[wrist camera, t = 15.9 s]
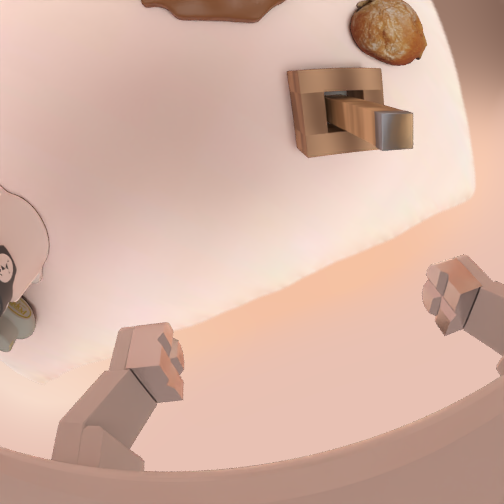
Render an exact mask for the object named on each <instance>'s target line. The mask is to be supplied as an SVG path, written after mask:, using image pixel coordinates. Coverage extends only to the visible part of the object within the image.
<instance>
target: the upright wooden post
mask: <svg viewBox="0 0 504 504" xmlns="http://www.w3.org/2000/svg"><path fill="white" fill-rule="evenodd" d="M324 98H325V107H326V117H327V122H329V123H331V124H333V125H335V126H337V127H339V128H341V129H344V130H346V131H348V132H349V133H351V134H353V135H355V136H357V137H359V138H361V139H363V140H365V141H367V142H369V143H371V144H372V145H374V146H376V148H378V149H380V150H382V151H389V150H401V149H413V113H411V112H408V111H403V110H399V109H396V108H392V107H389V106H385V105H382V104H378V103H374V102H370V101H366V100H362V99H358V98H354V97H350V96H345V95H341V94H340V95H325V96H324Z"/></svg>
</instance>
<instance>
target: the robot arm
mask: <svg viewBox="0 0 504 504" xmlns="http://www.w3.org/2000/svg"><path fill="white" fill-rule="evenodd" d="M48 251H49V241H48V235H47V232H46V229H45V226H44V224H43V222H42V220H41V218H40V216H39V215H38V213H37V212H36V211H35V210H34V208H33V207H32V206H31V205H30V204H29V203H28V202H26V201H25V200H24V199H22V198H20V197H18V196H16V195H13V194H11V193H8V192H6V191H5V190H4V189H3V188H2V187H1V186H0V317H1V315H2V314H3V313H4V312H5V310H6V309H7V307H8V304H9V303H10V302H16V301H18V300H19V299H20V297H21V296H22V295H23V293H24V292H25V291H26V289H27V288H28V287H29V285H30V284H31V283H38V282H39V281H40V280H41V279H42V267H43V264H44V262H45V261H46V259H47V256H48ZM426 276H427V277H428V280H427V282H426V283H425V285H424V286H423V291H422V299H423V303H424V306H425V308H426V309H427V311H428V312H429V313H431V314H433V315H435V316H436V317H435V322H436V324H437V325H438V327H439V328H440V330H441V331H442V332H443V334H444V336H445V335H448V334H451V333H454V332H456V331H458V330H461V329H464V331H466V332H468V333H469V334H471V335H472V336H474V337H475V338H477V339H478V340H480V341H481V342H483V343H484V344H486V345H487V346H489V347H490V348H492V349H493V350H495V351H496V352H498V353H499V354H500V355H502V356H503V357H502V358H501V360H500V361H499V363H498V364H497V367H496V369H497V371H498V373H499V374H500V377H499V378H497V379H496V380H494V381H492V382H491V383H489V384H487V385H486V386H484V387H483V388H481V389H479V390H477V391H475V392H474V393H472V394H470V395H469V396H466V397H465V398H463V399H461V400H459V401H457V402H455V403H453V404H451V405H449V406H447V407H445V408H443V409H441V410H439V411H437V412H435V413H432V414H430V415H428V416H426V417H424V418H421V419H419V420H417V421H414V422H412V423H410V424H407V425H405V426H403V427H400V428H397V429H394V430H392V431H389V432H386V433H384V434H381V435H378V436H375V437H372V438H370V439H366V440H363V441H360V442H357V443H354V444H350V445H347V446H344V447H340V448H336V449H333V450H329V451H325V452H321V453H317V454H313V455H309V456H304V457H300V458H295V459H290V460H285V461H279V462H273V463H268V464H261V465H254V466H247V467H238V468H229V469H219V470H204V471H182V472H181V471H179V472H157V471H144V460H143V459H142V458H141V457H140V456H138V455H137V454H135V453H134V452H133V451H131V450H130V448H131V446H132V444H133V443H134V441H135V440H136V438H137V436H138V434H139V433H140V431H141V430H142V428H143V426H144V425H145V423H146V422H147V420H148V419H149V417H150V415H151V413H152V412H153V410H154V409H155V407H156V405H157V403H160V402H170V401H178V400H183V384H184V382H183V380H182V379H181V377H180V374H181V373H182V371H183V370H184V357H183V351H182V348H181V345H180V343H179V341H178V340H176V339H175V338H173V329H172V328H171V326H170V324H169V323H167V322H164V323H156V324H147V325H139V326H134V327H124V328H121V329H120V330H119V332H118V335H117V339H116V343H115V347H114V351H113V355H112V359H111V363H110V368H109V371H104V372H103V373H102V375H101V376H100V377H99V378H98V379H97V380H96V381H95V383H93V384H92V386H91V387H90V388H89V389H88V390H87V391H86V392H85V393H84V395H83V396H82V397H81V398H80V399H79V400H78V401H77V403H75V405H74V406H73V407H72V408H71V409H70V410H69V412H68V413H67V414H66V415H65V416H64V417H63V418H62V419H61V420H60V422H59V425H58V430H57V434H56V439H55V444H54V449H53V454H52V459H51V460H48V459H44V458H40V457H35V456H31V455H27V454H23V453H19V452H16V451H12V450H9V449H6V448H3V447H0V504H504V284H502V283H500V282H497V281H495V282H493V281H492V280H491V279H490V278H489V277H488V276H487V275H486V274H485V273H484V272H483V270H482V269H481V268H479V266H478V265H477V264H476V263H475V262H474V261H473V260H472V259H471V258H470V257H468V256H467V255H464V254H463V255H460V256H457V257H454V258H451V259H448V260H445V261H441V262H438V263H435V264H431V265H430V266H429V267H428V269H427V273H426Z"/></svg>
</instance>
